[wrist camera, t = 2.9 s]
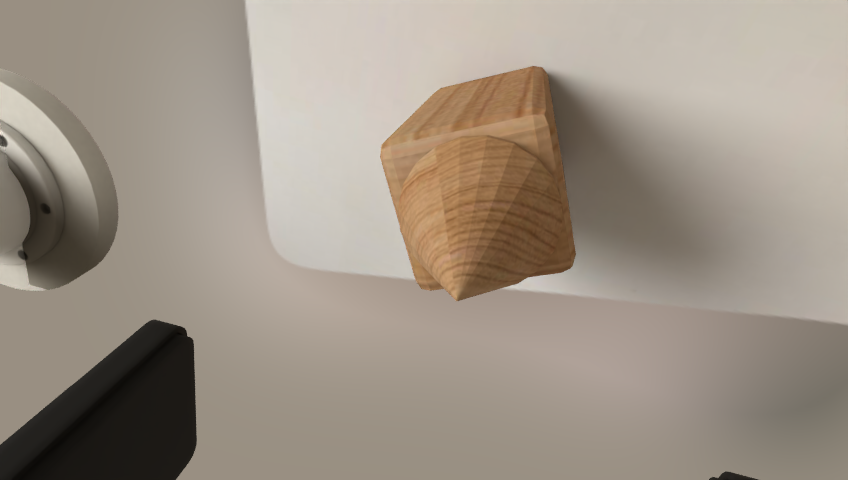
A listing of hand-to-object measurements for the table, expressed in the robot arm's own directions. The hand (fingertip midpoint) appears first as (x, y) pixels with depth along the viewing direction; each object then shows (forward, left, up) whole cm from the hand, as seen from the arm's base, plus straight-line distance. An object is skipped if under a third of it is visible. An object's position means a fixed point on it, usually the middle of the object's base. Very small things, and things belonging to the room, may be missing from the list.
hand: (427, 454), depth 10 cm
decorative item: (0, 0, -26) cm, 26 cm away
